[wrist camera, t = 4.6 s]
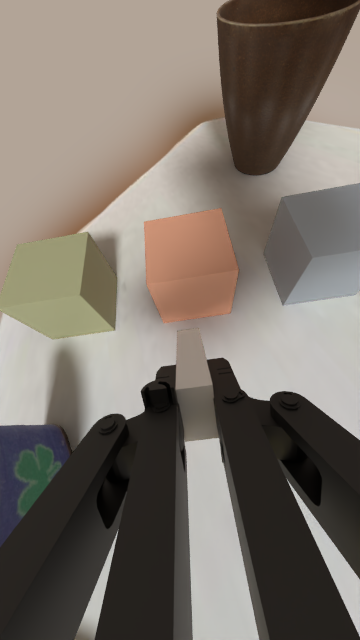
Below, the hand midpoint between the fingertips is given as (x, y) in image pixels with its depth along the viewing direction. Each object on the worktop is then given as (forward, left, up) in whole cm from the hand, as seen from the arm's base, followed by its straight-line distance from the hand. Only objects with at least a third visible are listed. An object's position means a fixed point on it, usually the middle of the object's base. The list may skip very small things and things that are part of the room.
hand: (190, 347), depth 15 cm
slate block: (-18, -5, -8) cm, 20 cm away
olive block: (+9, -14, -8) cm, 19 cm away
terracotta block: (-4, -9, -8) cm, 13 cm away
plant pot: (-26, -27, -9) cm, 39 cm away
